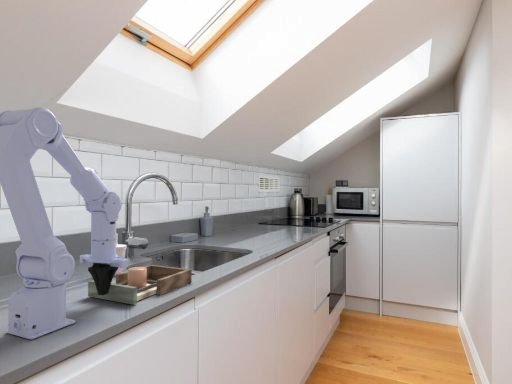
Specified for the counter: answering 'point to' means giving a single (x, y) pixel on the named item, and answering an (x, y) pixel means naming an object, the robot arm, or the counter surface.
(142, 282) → the peach rounded cylinder
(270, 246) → the counter surface
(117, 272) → the smoothie
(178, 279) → the dock
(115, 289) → the tray
